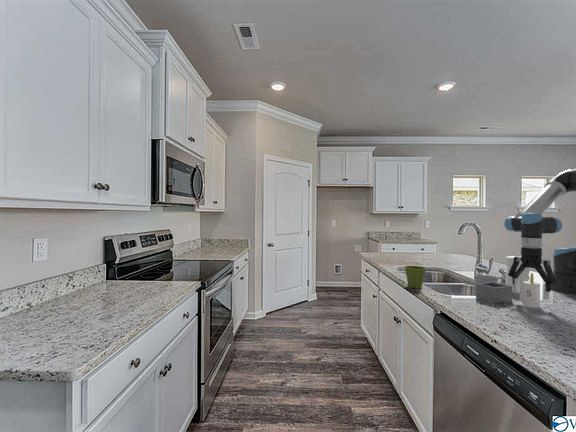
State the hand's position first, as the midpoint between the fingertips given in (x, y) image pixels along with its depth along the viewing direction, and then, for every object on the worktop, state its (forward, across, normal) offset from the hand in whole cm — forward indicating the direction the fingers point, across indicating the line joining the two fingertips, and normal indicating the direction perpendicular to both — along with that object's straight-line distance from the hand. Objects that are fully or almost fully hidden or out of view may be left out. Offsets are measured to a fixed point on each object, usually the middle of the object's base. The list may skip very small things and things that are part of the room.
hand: (530, 295), depth 144 cm
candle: (+5, 0, 0) cm, 5 cm away
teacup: (+5, -26, +9) cm, 28 cm away
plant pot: (+5, -48, -21) cm, 53 cm away
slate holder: (+5, -13, -6) cm, 15 cm away
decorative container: (+5, -20, +23) cm, 31 cm away
